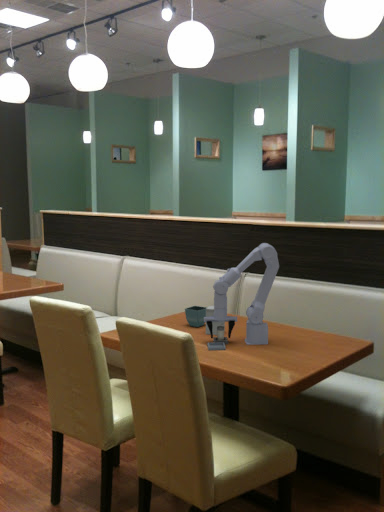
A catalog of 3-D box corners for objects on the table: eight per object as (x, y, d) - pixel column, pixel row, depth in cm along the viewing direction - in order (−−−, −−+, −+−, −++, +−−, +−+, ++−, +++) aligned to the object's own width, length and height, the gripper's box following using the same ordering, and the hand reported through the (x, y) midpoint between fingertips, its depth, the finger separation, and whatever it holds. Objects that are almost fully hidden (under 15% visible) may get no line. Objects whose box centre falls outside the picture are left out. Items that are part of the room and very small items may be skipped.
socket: (226, 341, 238) (226, 336, 237) (228, 345, 232) (228, 340, 231) (213, 341, 237) (213, 337, 237) (214, 345, 231) (214, 341, 231)
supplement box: (205, 334, 248) (205, 308, 247) (210, 330, 255) (210, 305, 254) (220, 336, 246) (220, 309, 244) (225, 332, 252) (225, 306, 251)
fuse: (223, 341, 236) (223, 326, 235) (224, 343, 233) (224, 327, 232) (216, 341, 236) (216, 326, 235) (217, 343, 233) (217, 328, 232)
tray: (224, 345, 231) (224, 342, 231) (225, 350, 224) (225, 347, 223) (207, 346, 230) (207, 342, 230) (208, 351, 223) (208, 347, 223)
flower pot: (194, 322, 271) (194, 305, 270) (209, 325, 266) (209, 307, 265) (184, 326, 264) (184, 308, 263) (198, 328, 259) (198, 310, 258)
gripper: (235, 305, 237) (235, 334, 238) (203, 305, 236) (203, 335, 238) (237, 308, 230) (237, 339, 231) (204, 309, 229) (204, 339, 231)
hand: (220, 337), depth 234 cm, fingers open, 7 cm apart
